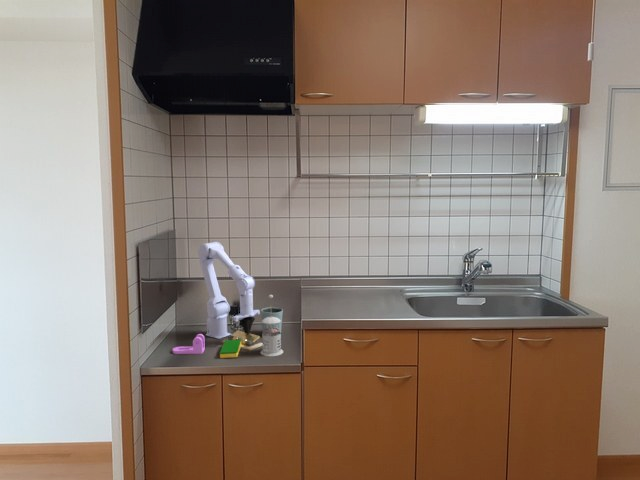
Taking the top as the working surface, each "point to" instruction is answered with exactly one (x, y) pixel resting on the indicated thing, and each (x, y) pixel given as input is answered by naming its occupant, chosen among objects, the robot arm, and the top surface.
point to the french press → (271, 337)
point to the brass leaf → (244, 336)
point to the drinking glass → (272, 313)
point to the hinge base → (246, 343)
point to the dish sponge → (230, 348)
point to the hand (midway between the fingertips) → (247, 333)
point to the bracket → (195, 349)
